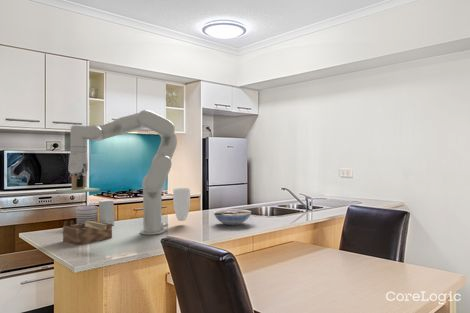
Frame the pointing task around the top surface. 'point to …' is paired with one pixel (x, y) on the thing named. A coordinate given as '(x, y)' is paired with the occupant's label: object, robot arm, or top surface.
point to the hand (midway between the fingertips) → (78, 186)
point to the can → (86, 213)
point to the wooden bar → (95, 225)
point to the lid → (77, 189)
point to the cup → (181, 202)
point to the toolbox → (85, 233)
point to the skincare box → (106, 211)
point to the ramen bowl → (232, 216)
